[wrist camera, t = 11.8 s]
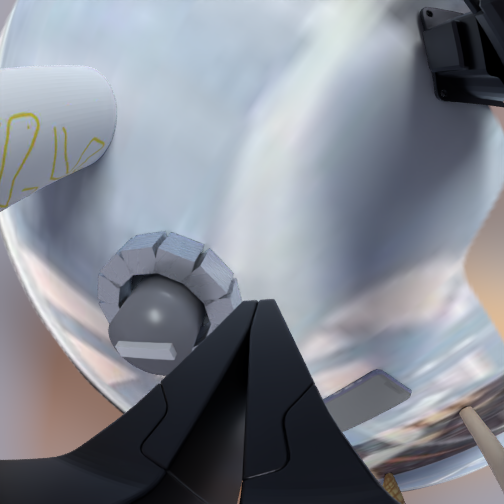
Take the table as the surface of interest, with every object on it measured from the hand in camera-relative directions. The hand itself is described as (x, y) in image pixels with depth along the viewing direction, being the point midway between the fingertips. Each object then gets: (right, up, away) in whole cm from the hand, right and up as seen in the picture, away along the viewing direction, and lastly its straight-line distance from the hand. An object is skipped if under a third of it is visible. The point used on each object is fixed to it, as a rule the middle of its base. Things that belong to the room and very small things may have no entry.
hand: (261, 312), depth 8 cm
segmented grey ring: (-7, -2, +16) cm, 18 cm away
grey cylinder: (-13, +12, +10) cm, 21 cm away
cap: (-7, -2, +16) cm, 18 cm away
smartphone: (+10, -16, +22) cm, 29 cm away
